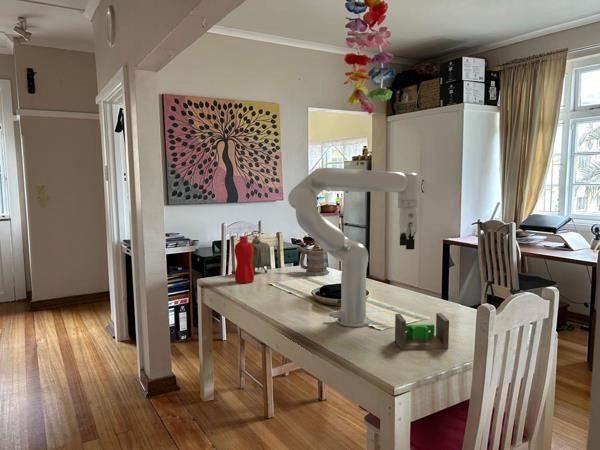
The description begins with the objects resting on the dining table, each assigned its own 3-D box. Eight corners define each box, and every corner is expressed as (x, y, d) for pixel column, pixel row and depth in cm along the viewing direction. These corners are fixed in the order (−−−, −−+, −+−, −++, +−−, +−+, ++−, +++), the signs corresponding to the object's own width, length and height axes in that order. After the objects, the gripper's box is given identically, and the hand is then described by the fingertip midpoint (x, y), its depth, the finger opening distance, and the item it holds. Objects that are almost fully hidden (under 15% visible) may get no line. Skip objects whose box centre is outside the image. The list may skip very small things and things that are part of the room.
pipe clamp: (403, 342, 149) (404, 328, 149) (400, 337, 153) (401, 325, 152) (437, 340, 150) (437, 327, 149) (433, 336, 153) (433, 323, 153)
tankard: (331, 272, 263) (331, 247, 262) (321, 276, 253) (321, 250, 251) (303, 269, 274) (302, 244, 272) (291, 273, 263) (291, 247, 262)
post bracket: (400, 349, 146) (401, 321, 145) (394, 340, 154) (395, 313, 153) (448, 348, 147) (449, 320, 146) (440, 339, 155) (441, 313, 154)
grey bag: (270, 272, 264) (269, 231, 261) (259, 275, 257) (258, 232, 254) (253, 269, 273) (252, 229, 270) (242, 272, 266) (241, 230, 264)
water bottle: (243, 285, 235) (242, 238, 232) (232, 281, 243) (231, 236, 240) (258, 282, 240) (257, 236, 238) (247, 279, 249) (246, 234, 246)
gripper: (423, 205, 167) (422, 250, 169) (411, 202, 184) (410, 243, 186) (403, 205, 167) (402, 251, 169) (393, 203, 184) (392, 244, 186)
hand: (406, 247), depth 177 cm, fingers open, 9 cm apart
